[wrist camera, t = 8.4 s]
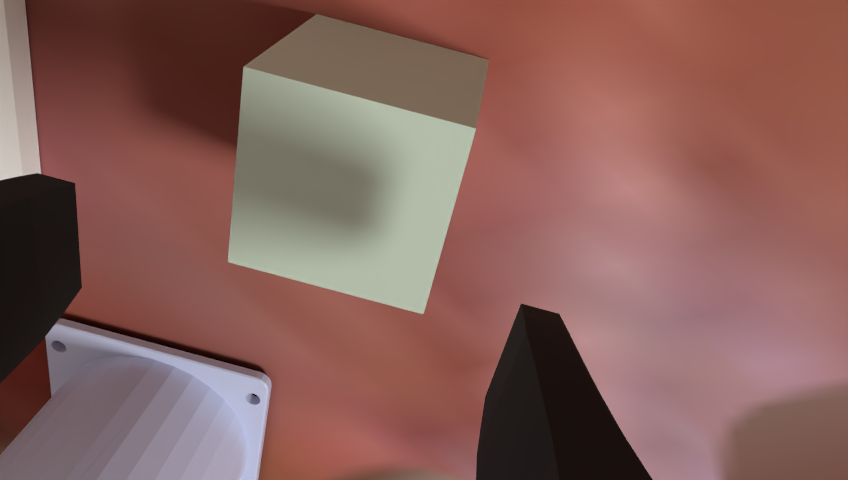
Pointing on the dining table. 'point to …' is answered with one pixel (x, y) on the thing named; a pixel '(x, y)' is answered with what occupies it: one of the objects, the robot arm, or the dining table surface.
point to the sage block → (352, 159)
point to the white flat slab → (16, 95)
